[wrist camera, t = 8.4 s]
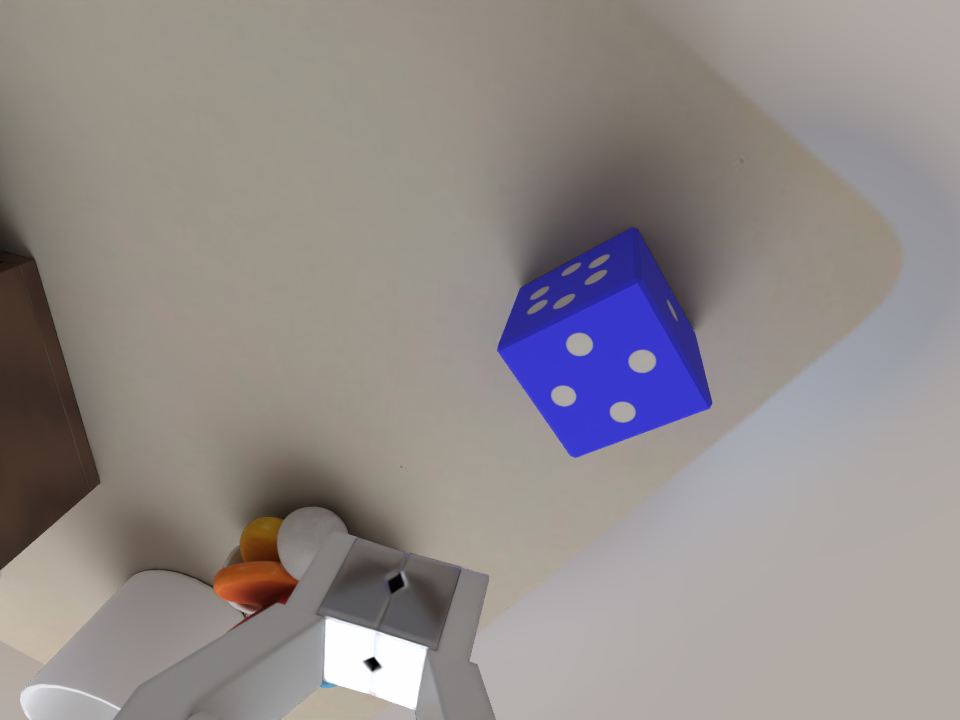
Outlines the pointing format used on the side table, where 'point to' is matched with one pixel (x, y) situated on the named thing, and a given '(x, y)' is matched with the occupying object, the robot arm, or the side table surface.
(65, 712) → the mug
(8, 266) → the cabinet
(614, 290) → the die
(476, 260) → the side table surface
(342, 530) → the rainbow petal toy
